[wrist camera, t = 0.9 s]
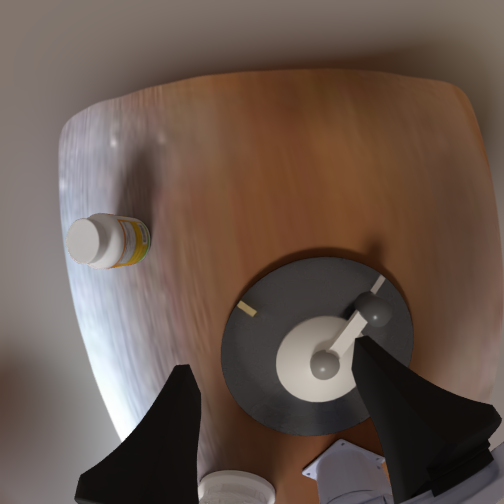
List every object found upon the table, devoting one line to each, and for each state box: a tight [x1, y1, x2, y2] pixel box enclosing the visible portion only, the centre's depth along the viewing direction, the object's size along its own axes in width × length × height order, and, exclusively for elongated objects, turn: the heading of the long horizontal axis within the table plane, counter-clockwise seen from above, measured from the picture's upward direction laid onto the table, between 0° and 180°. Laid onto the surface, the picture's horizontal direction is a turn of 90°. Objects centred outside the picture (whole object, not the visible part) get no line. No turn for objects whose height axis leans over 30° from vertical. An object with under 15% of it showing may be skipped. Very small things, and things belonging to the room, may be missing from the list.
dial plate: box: [221, 257, 413, 436], centre depth 30 cm, size 22×22×1 cm
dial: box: [276, 292, 392, 402], centre depth 27 cm, size 14×10×5 cm
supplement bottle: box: [66, 213, 150, 269], centre depth 27 cm, size 5×5×10 cm
